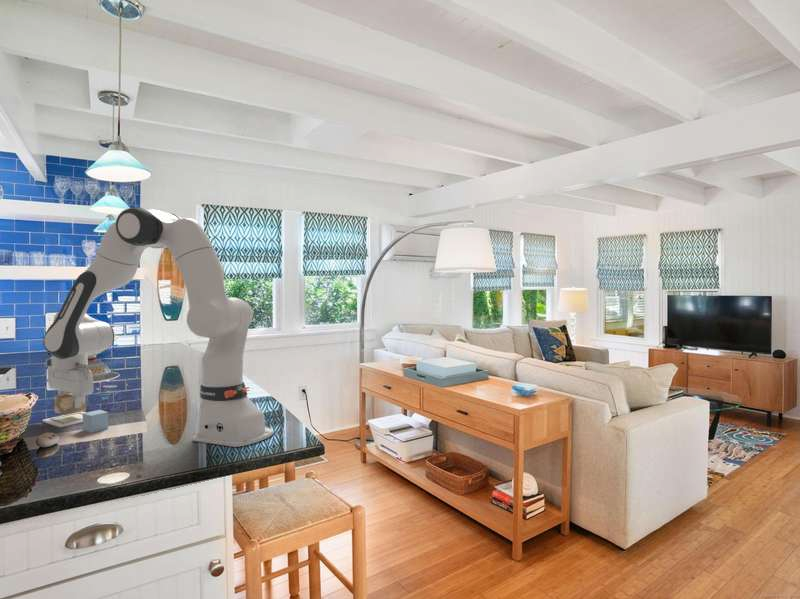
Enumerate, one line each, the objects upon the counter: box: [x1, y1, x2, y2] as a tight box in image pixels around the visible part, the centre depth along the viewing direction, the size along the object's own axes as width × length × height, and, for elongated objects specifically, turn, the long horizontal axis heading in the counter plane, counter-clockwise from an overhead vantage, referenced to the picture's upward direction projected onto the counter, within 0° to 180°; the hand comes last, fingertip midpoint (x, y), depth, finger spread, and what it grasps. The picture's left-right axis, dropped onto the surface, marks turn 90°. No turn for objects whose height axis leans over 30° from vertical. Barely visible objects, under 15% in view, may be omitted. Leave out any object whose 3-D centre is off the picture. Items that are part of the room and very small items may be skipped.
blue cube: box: [82, 409, 109, 434], centre depth 134 cm, size 5×5×5 cm
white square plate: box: [42, 411, 87, 428], centre depth 143 cm, size 11×11×1 cm
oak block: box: [53, 393, 87, 416], centre depth 142 cm, size 6×6×5 cm
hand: (71, 405), depth 142 cm, fingers closed on oak block, 6 cm apart
